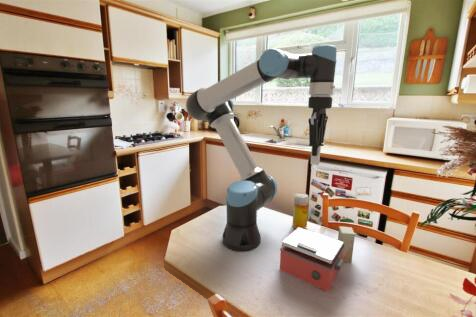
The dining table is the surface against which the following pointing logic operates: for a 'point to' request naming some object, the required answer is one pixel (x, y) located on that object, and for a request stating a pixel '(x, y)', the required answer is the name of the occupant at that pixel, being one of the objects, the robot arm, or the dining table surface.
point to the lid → (314, 244)
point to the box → (347, 242)
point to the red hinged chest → (310, 267)
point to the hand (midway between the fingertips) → (314, 164)
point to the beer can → (300, 210)
